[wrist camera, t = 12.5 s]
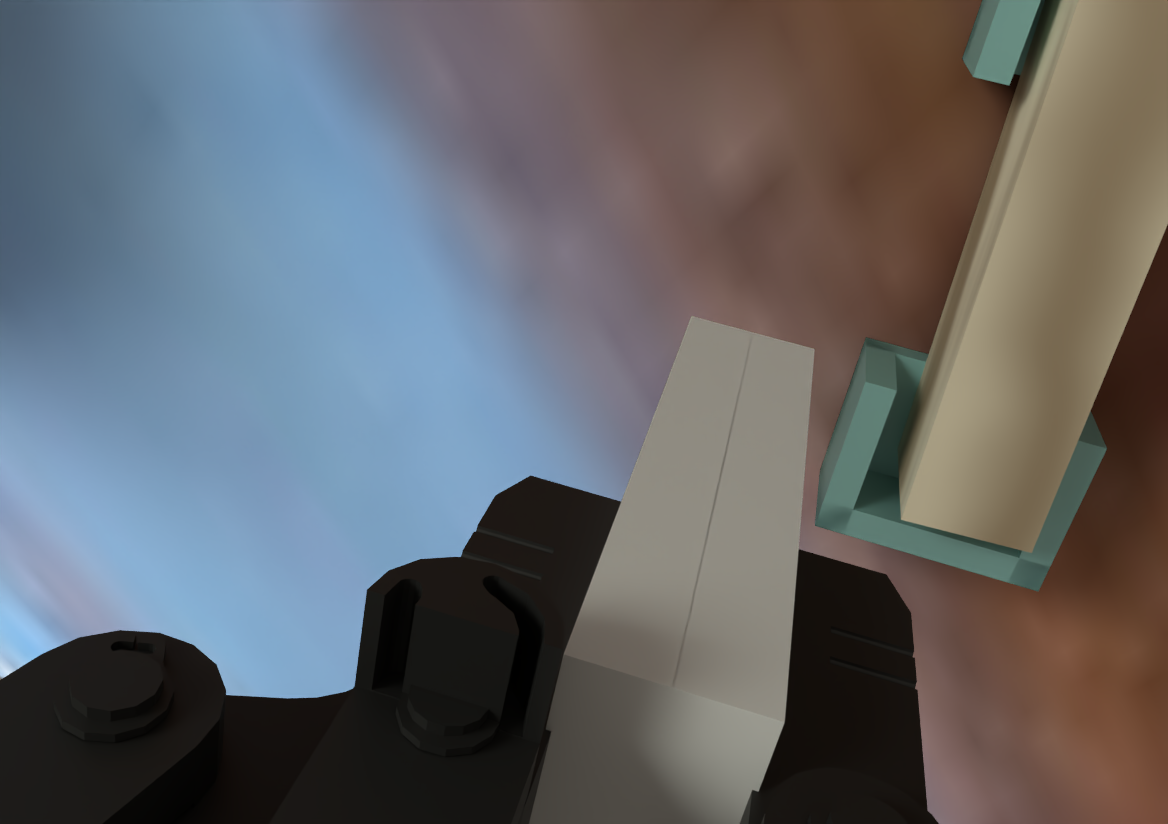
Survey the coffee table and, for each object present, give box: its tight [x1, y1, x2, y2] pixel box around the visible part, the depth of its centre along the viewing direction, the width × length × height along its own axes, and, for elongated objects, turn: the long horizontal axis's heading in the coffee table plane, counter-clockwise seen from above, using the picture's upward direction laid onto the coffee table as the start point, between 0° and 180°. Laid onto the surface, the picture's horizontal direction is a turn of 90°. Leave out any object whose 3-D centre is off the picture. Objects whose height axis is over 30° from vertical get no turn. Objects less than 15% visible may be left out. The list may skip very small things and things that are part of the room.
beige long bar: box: [898, 0, 1168, 553], centre depth 32 cm, size 4×16×5 cm, turn 171°
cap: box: [815, 337, 1107, 591], centre depth 37 cm, size 8×6×4 cm
